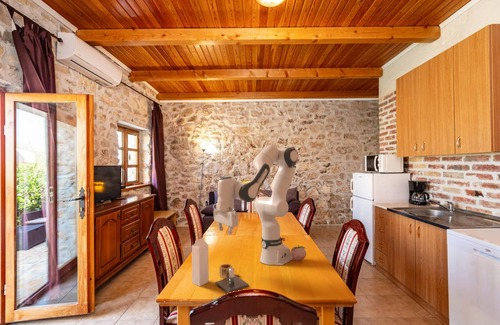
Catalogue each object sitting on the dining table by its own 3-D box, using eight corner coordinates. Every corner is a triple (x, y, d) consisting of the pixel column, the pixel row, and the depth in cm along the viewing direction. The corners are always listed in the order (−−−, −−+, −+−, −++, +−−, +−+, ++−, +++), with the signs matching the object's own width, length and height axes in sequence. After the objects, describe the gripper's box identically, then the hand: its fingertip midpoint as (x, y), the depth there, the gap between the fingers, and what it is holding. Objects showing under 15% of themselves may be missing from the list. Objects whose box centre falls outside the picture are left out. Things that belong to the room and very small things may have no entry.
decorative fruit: (301, 258, 159) (300, 242, 160) (308, 262, 152) (308, 246, 152) (288, 260, 156) (287, 244, 156) (295, 265, 148) (294, 248, 149)
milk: (208, 282, 129) (208, 238, 129) (199, 286, 124) (199, 241, 124) (201, 278, 133) (200, 236, 133) (191, 283, 128) (191, 239, 128)
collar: (227, 272, 140) (227, 263, 140) (233, 276, 135) (233, 266, 135) (218, 275, 137) (217, 265, 137) (223, 279, 132) (223, 269, 132)
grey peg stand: (235, 277, 134) (235, 262, 134) (248, 286, 124) (248, 269, 124) (215, 283, 127) (215, 267, 127) (227, 293, 117) (227, 276, 117)
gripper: (241, 208, 130) (240, 235, 130) (221, 203, 147) (221, 227, 146) (230, 209, 126) (230, 237, 126) (211, 204, 143) (211, 229, 143)
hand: (225, 232), depth 136 cm, fingers open, 8 cm apart
